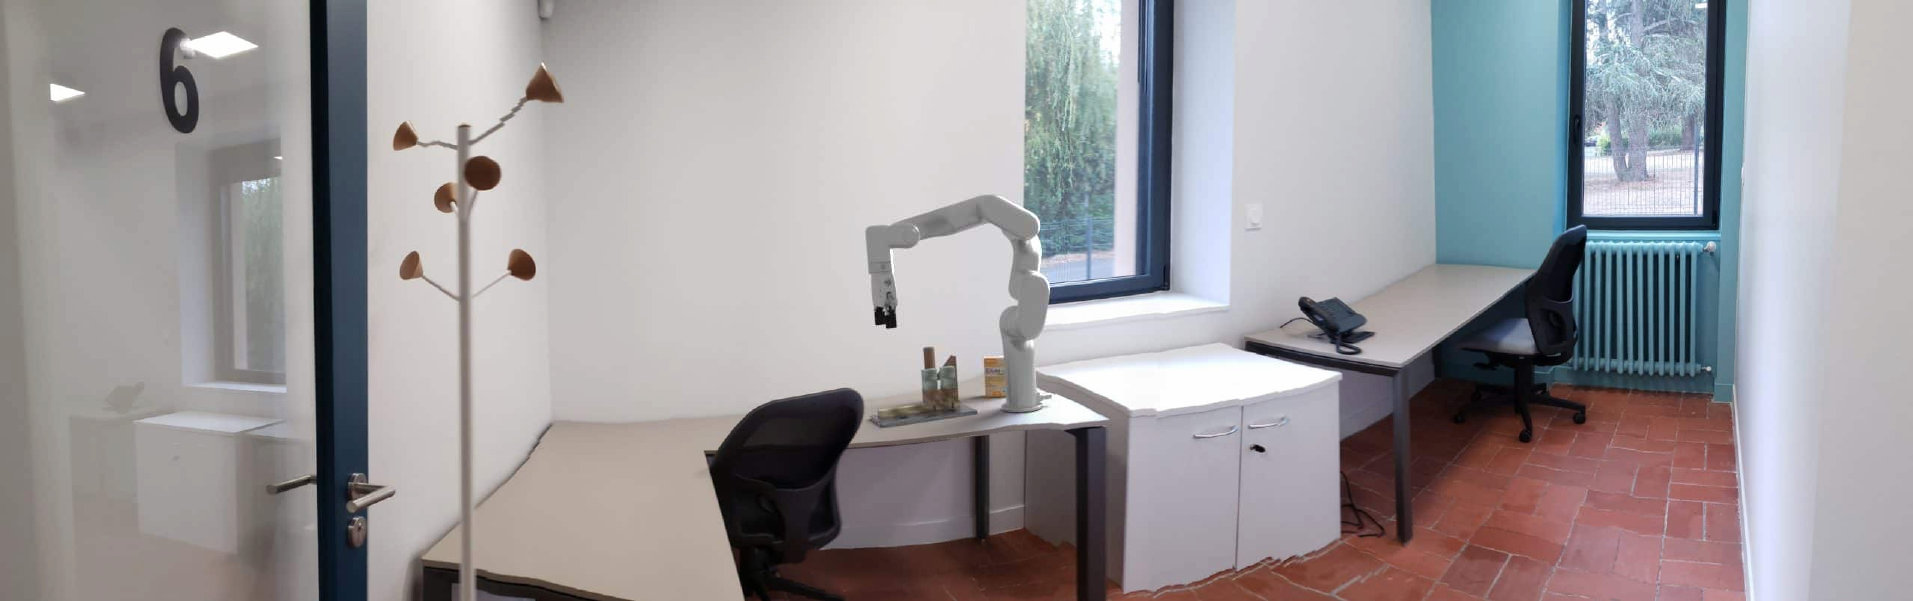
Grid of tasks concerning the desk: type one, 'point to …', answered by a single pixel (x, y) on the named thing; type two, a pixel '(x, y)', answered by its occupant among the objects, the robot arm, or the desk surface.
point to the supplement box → (994, 376)
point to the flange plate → (924, 416)
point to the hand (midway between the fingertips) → (885, 326)
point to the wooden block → (930, 363)
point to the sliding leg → (930, 387)
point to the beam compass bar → (947, 401)
